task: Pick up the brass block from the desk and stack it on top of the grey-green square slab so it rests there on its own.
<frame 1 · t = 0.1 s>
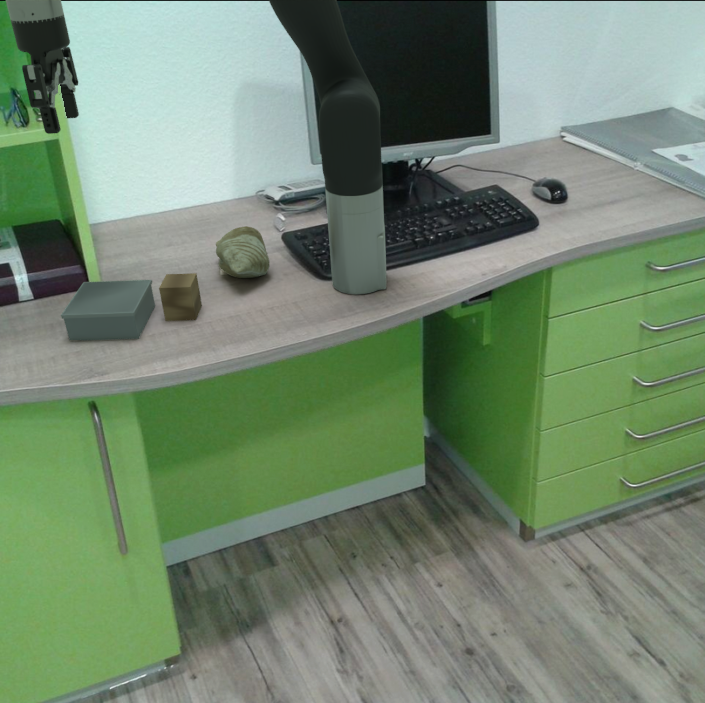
hand: (63, 125, 129), 29 cm above the table, fingers open, 8 cm apart
brass block: (184, 313, 136), on the table
seashell: (243, 273, 148), on the table
grey-green square slab: (114, 324, 134), on the table
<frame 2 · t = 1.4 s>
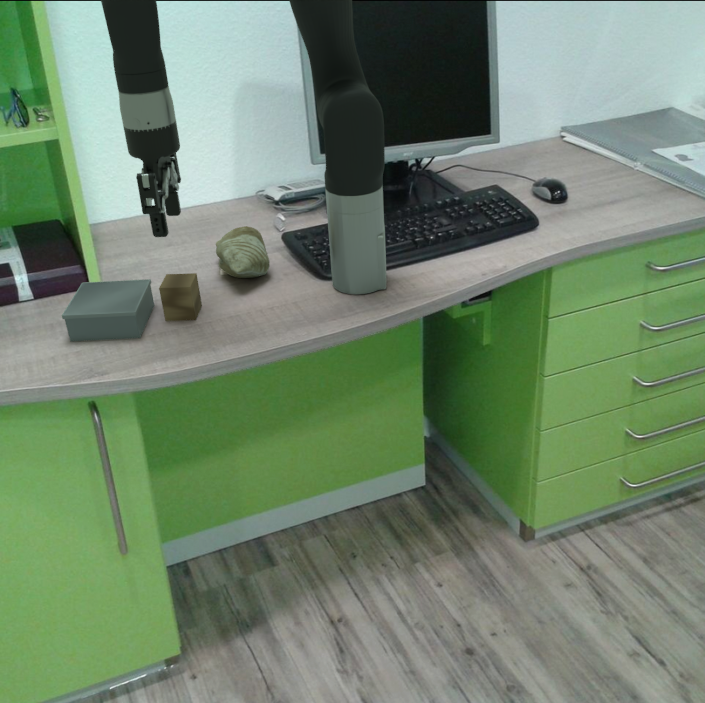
hand: (167, 225, 128), 15 cm above the table, fingers open, 8 cm apart
nothing on the table moved.
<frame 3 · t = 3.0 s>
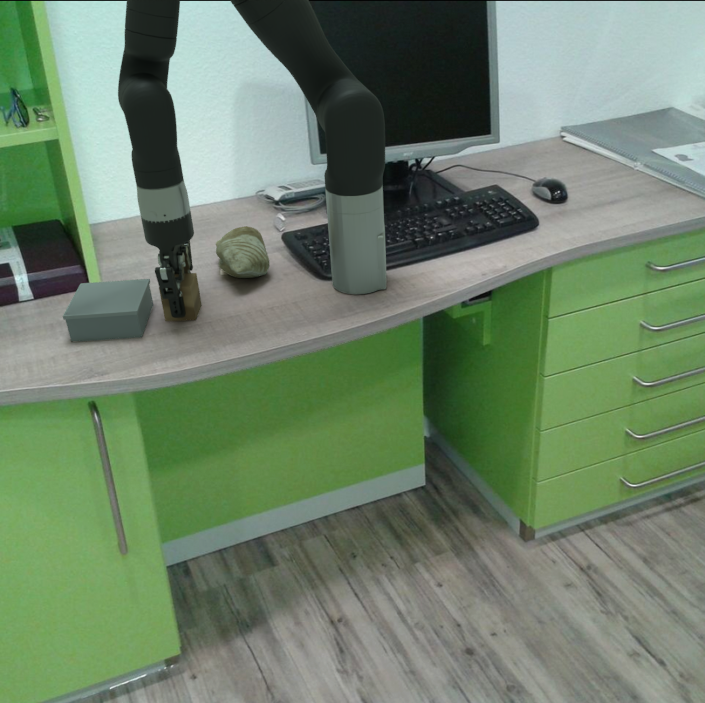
hand: (182, 307, 135), 1 cm above the table, fingers closed on brass block, 5 cm apart
brass block: (183, 313, 136), on the table, touching gripper
everything else where it was.
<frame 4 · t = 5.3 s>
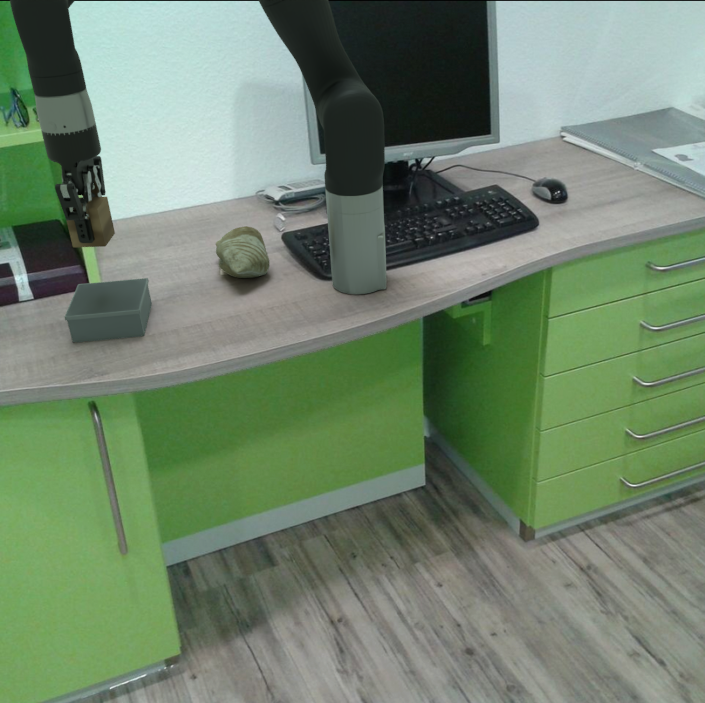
hand: (93, 234, 126), 15 cm above the table, fingers closed on brass block, 5 cm apart
brass block: (94, 240, 127), point 14 cm above the table, touching gripper
everything else where it was.
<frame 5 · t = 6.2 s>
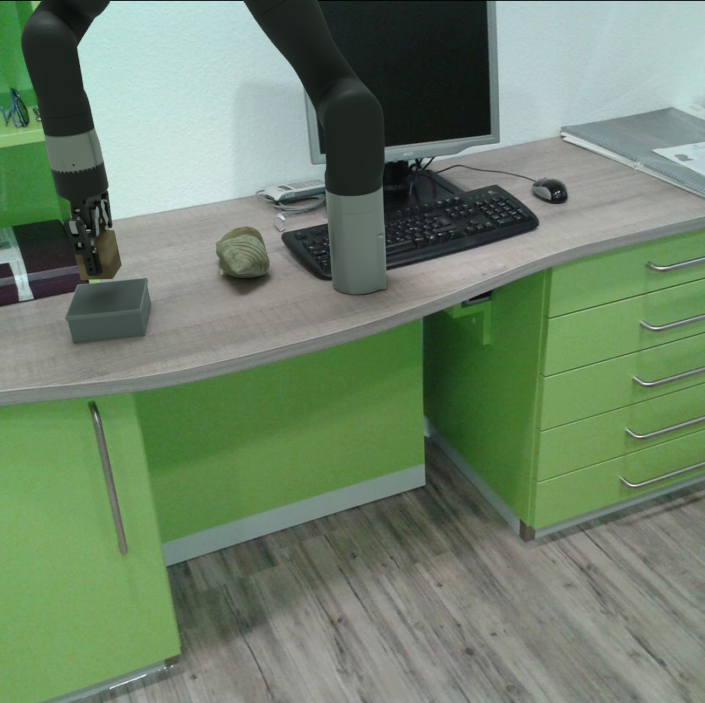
hand: (100, 266, 129), 10 cm above the table, fingers closed on brass block, 5 cm apart
brass block: (101, 272, 130), point 9 cm above the table, touching gripper
everything else where it was.
when the fingers open (7 cm above the table, at t = 7.2 s): brass block drops 1 cm, resting on grey-green square slab.
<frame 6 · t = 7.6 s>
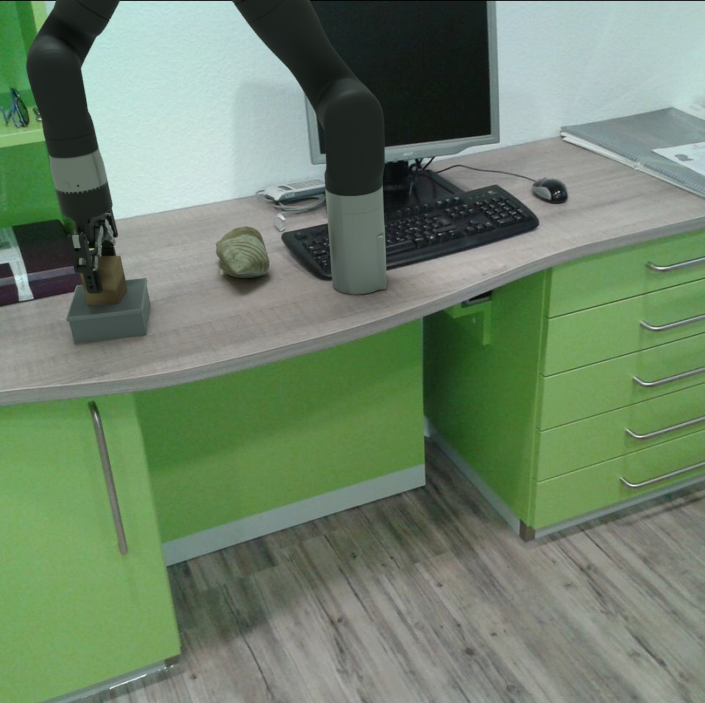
hand: (103, 280, 130), 8 cm above the table, fingers open, 8 cm apart
brass block: (107, 297, 132), point 5 cm above the table, touching grey-green square slab
grey-green square slab: (114, 324, 134), on the table, touching brass block
everything else where it was.
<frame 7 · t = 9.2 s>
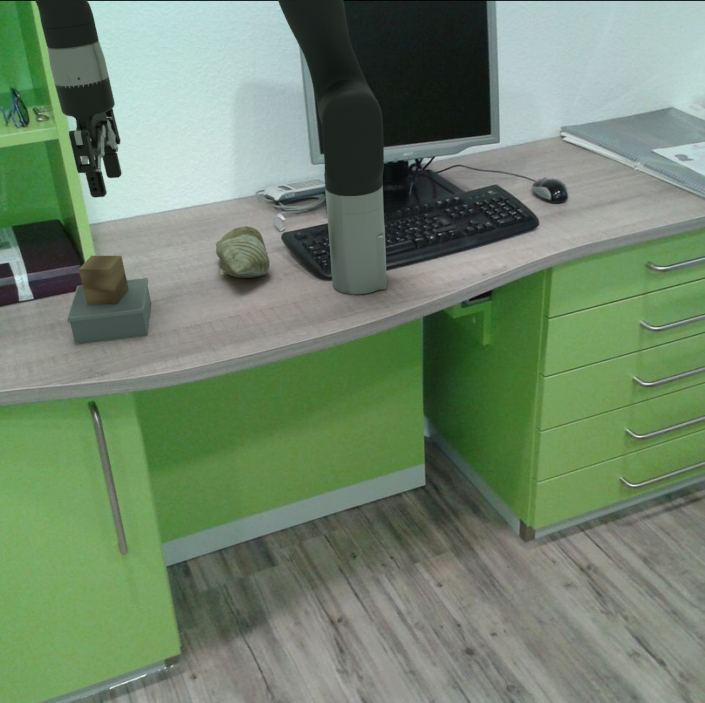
hand: (107, 186, 126), 22 cm above the table, fingers open, 8 cm apart
brass block: (108, 296, 132), point 5 cm above the table
grey-green square slab: (115, 324, 134), on the table
everything else where it was.
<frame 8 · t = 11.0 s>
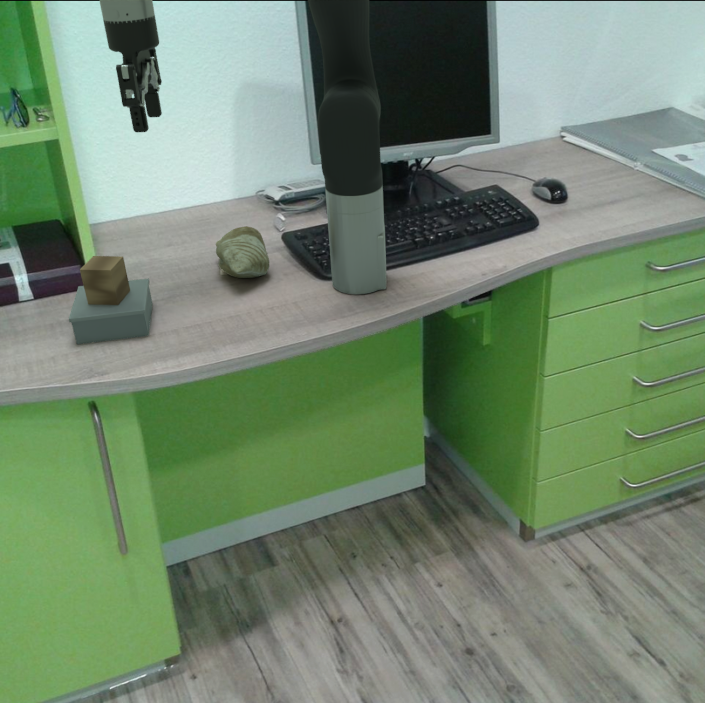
hand: (148, 123, 131), 28 cm above the table, fingers open, 8 cm apart
brass block: (109, 297, 132), point 5 cm above the table, touching grey-green square slab
grey-green square slab: (116, 325, 134), on the table, touching brass block
everything else where it was.
at the end: brass block inside the target area on the grey-green square slab (0.2 cm from its centre), point 5.0 cm above the grey-green square slab's base; brass block tilted 0°; the gripper is holding nothing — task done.
